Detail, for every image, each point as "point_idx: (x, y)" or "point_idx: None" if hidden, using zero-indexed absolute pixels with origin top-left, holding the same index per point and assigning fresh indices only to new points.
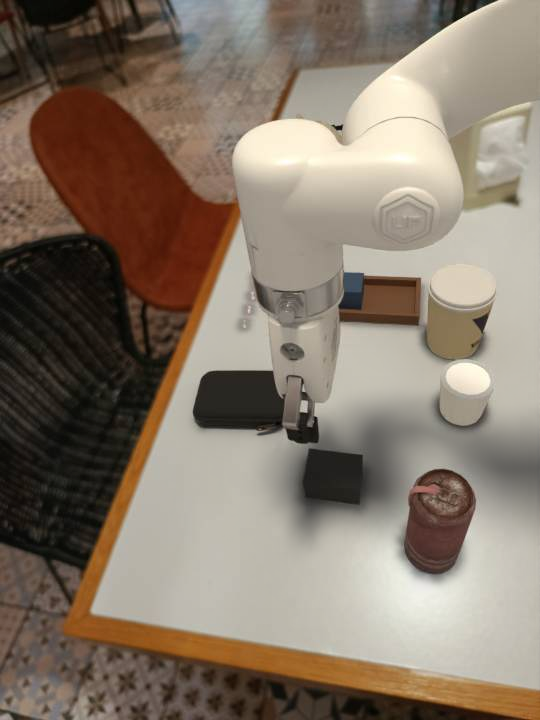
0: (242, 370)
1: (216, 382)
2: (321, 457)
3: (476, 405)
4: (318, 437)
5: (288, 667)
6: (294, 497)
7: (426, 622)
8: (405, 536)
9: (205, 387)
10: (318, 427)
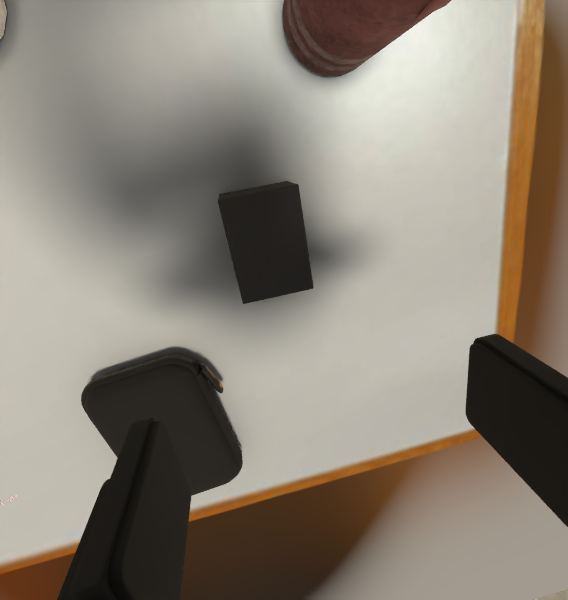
0: None
1: None
2: (254, 276)
3: None
4: (517, 348)
5: (524, 204)
6: None
7: (452, 7)
8: (352, 66)
9: None
10: (541, 378)
